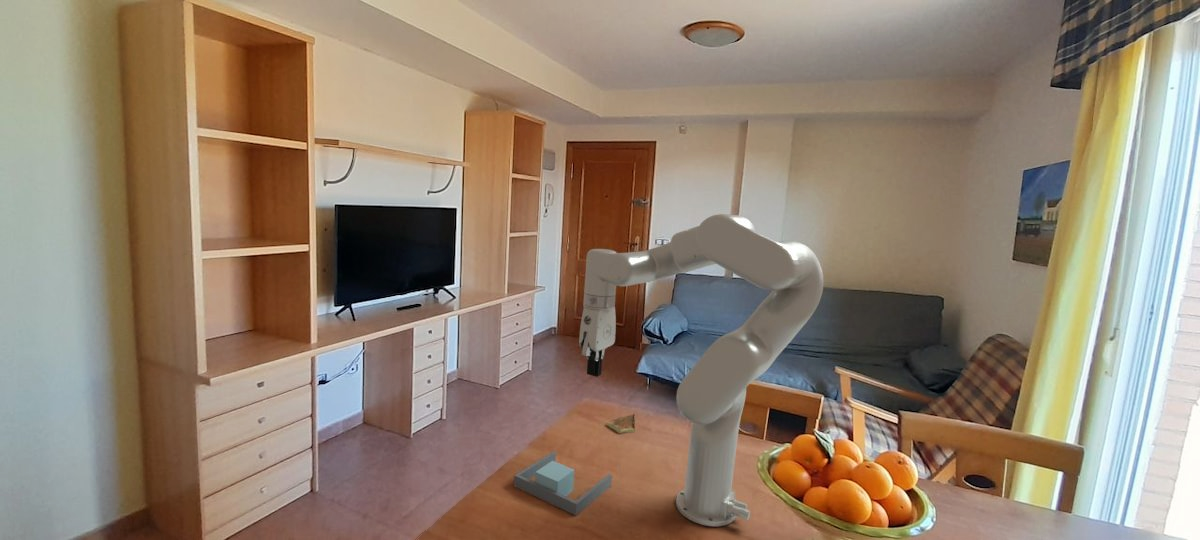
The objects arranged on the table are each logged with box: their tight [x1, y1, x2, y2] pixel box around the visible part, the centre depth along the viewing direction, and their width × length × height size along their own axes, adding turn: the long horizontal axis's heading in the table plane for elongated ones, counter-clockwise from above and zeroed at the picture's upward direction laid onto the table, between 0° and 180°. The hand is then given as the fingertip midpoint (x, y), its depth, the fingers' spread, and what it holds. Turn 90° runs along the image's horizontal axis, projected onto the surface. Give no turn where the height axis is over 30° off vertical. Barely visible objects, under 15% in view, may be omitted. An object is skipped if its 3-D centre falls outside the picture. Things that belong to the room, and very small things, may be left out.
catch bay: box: [513, 450, 613, 516], centre depth 111 cm, size 17×14×2 cm
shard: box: [606, 413, 636, 434], centre depth 143 cm, size 11×8×2 cm
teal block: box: [534, 460, 575, 497], centre depth 109 cm, size 6×6×5 cm
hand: (593, 374), depth 123 cm, fingers closed
